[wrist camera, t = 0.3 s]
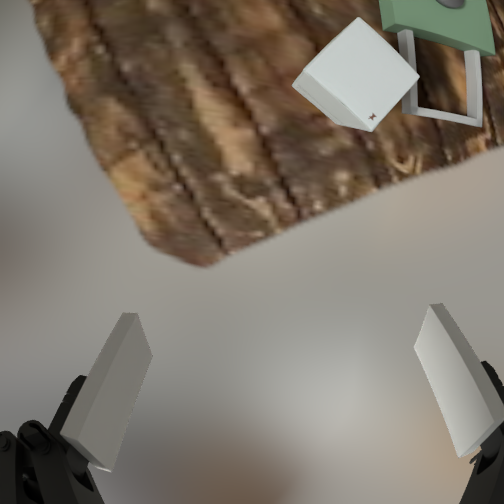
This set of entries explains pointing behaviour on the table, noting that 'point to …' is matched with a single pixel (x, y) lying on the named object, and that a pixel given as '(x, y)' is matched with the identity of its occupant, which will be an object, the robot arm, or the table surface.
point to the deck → (447, 33)
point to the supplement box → (356, 78)
